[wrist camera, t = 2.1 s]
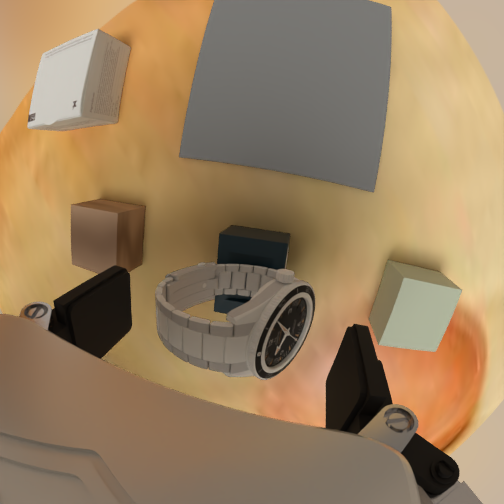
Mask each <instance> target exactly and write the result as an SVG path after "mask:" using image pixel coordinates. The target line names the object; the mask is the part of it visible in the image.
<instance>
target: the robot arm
mask: <svg viewBox="0 0 504 504" xmlns="http://www.w3.org/2000/svg"><path fill="white" fill-rule="evenodd" d="M54 307H55V308H54V309H53V310H52V308H51V306H50V305H49V304H47V303H44V302H33V303H30V304H28V305H26V306H25V307H24V308H23V309H22V310H21V313H20V316H19V317H18V316H14V315H8V314H0V504H482V502H481V501H480V500H479V499H478V498H477V496H476V495H475V494H474V493H473V491H472V490H471V489H470V488H469V487H468V485H467V484H466V483H465V482H464V481H463V482H462V483H460V482H459V481H458V477H459V468H458V465H457V463H456V462H455V461H454V460H453V459H452V458H451V457H449V456H448V455H446V454H445V453H444V452H442V451H441V450H439V449H438V448H436V447H435V446H434V445H432V444H431V443H429V442H428V441H426V440H425V439H424V438H422V437H421V436H419V435H418V434H417V433H415V432H416V431H417V428H418V420H417V417H416V415H415V414H414V413H413V412H412V411H411V410H410V409H408V408H407V407H405V406H402V405H398V404H393V403H392V399H391V395H390V391H389V387H388V383H387V380H386V376H385V372H384V369H383V365H382V363H381V361H380V360H378V359H377V356H376V352H375V349H374V345H373V342H372V338H371V335H370V332H369V328H368V326H363V325H358V324H354V325H353V326H352V327H348V328H347V330H346V332H345V335H344V338H343V340H342V343H341V345H340V348H339V350H338V353H337V355H336V358H335V360H334V363H333V365H332V367H331V370H330V372H329V374H328V377H327V380H326V428H322V427H316V426H311V425H305V424H300V423H294V422H289V421H284V420H279V419H274V418H269V417H265V416H260V415H256V414H252V413H248V412H244V411H240V410H236V409H233V408H229V407H225V406H222V405H219V404H215V403H212V402H209V401H205V400H202V399H199V398H196V397H193V396H190V395H187V394H184V393H181V392H178V391H176V390H173V389H170V388H167V387H165V386H162V385H160V384H157V383H154V382H152V381H149V380H147V379H144V378H142V377H140V376H137V375H135V374H133V373H130V372H128V371H126V370H123V369H121V368H119V367H117V366H115V365H112V364H110V363H108V362H106V361H104V360H102V359H101V358H102V357H103V356H104V355H105V354H106V353H107V352H108V351H109V350H110V349H111V348H112V347H113V346H114V345H115V344H116V343H117V342H118V341H120V340H121V339H122V338H123V337H124V336H125V335H126V334H127V333H128V332H129V331H130V329H131V327H132V314H131V292H130V274H129V273H128V271H127V269H126V268H123V267H120V266H116V265H114V266H112V267H110V268H108V269H107V270H105V271H103V272H101V273H100V274H98V275H96V276H94V277H93V278H91V279H89V280H87V281H86V282H84V283H82V284H81V285H79V286H77V287H76V288H74V289H72V290H71V291H69V292H67V293H66V294H64V295H62V296H61V297H59V298H57V299H56V300H54Z"/></svg>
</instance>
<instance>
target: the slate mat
mask: <svg viewBox="0 0 504 504" xmlns="http://www.w3.org/2000/svg"><path fill="white" fill-rule="evenodd" d="M391 32H392V21H391V7H389V6H386V5H383V4H379V3H376V2H372V1H369V0H214V3H213V6H212V10H211V13H210V16H209V20H208V23H207V27H206V31H205V34H204V38H203V42H202V46H201V49H200V53H199V58H198V62H197V66H196V70H195V75H194V79H193V84H192V88H191V93H190V98H189V103H188V108H187V113H186V118H185V124H184V129H183V135H182V141H181V147H180V154H179V157H182V158H191V159H200V160H208V161H216V162H223V163H230V164H237V165H243V166H250V167H256V168H262V169H268V170H274V171H279V172H284V173H290V174H295V175H300V176H305V177H310V178H315V179H319V180H324V181H328V182H333V183H337V184H341V185H346V186H350V187H354V188H358V189H362V190H366V191H370V192H374V189H375V184H376V179H377V173H378V168H379V162H380V156H381V149H382V143H383V136H384V129H385V121H386V112H387V103H388V92H389V80H390V64H391Z"/></svg>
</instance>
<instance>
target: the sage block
mask: <svg viewBox="0 0 504 504" xmlns="http://www.w3.org/2000/svg"><path fill="white" fill-rule="evenodd" d="M461 292H462V290H461V289H460V288H459V287H458V286H457V285H455V284H454V283H453V282H452V281H451V280H449V279H448V278H447V277H446V276H445V275H443V274H442V273H441V272H438V271H434V270H430V269H425V268H421V267H417V266H413V265H408V264H404V263H400V262H395V261H391V260H388V261H387V264H386V268H385V271H384V274H383V277H382V281H381V284H380V287H379V290H378V293H377V296H376V299H375V302H374V305H373V308H372V311H371V313H370V316H369V321H370V324H371V326H372V329H373V331H374V334H375V337H376V339H377V342H378V345H383V346H390V347H397V348H405V349H414V350H423V351H432V352H436V350H437V348H438V346H439V343H440V341H441V339H442V337H443V335H444V333H445V331H446V329H447V326H448V324H449V322H450V319H451V317H452V315H453V312H454V310H455V307H456V305H457V302H458V300H459V297H460V294H461Z"/></svg>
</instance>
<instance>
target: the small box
mask: <svg viewBox="0 0 504 504" xmlns="http://www.w3.org/2000/svg"><path fill="white" fill-rule="evenodd" d="M130 51H131V47H130V46H128V45H126V44H125V43H123V42H121V41H119V40H118V39H116V38H114V37H112V36H110V35H108V34H107V33H105V32H103V31H101V30H99V29H96V30H94V31H91V32H89V33H86V34H84V35H81V36H79V37H77V38H74V39H72V40H70V41H68V42H65V43H63V44H61V45H59V46H57V47H55V48H53V49H51V50H49V51H47V52H45V53H43V55H42V58H41V61H40V64H39V68H38V72H37V77H36V81H35V86H34V90H33V95H32V100H31V106H30V112H29V118H28V128H29V129H39V130H53V131H68V130H74V129H80V128H86V127H93V126H100V125H108V124H115V123H117V122H118V115H119V108H120V101H121V95H122V89H123V84H124V78H125V74H126V69H127V64H128V59H129V55H130Z"/></svg>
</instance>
